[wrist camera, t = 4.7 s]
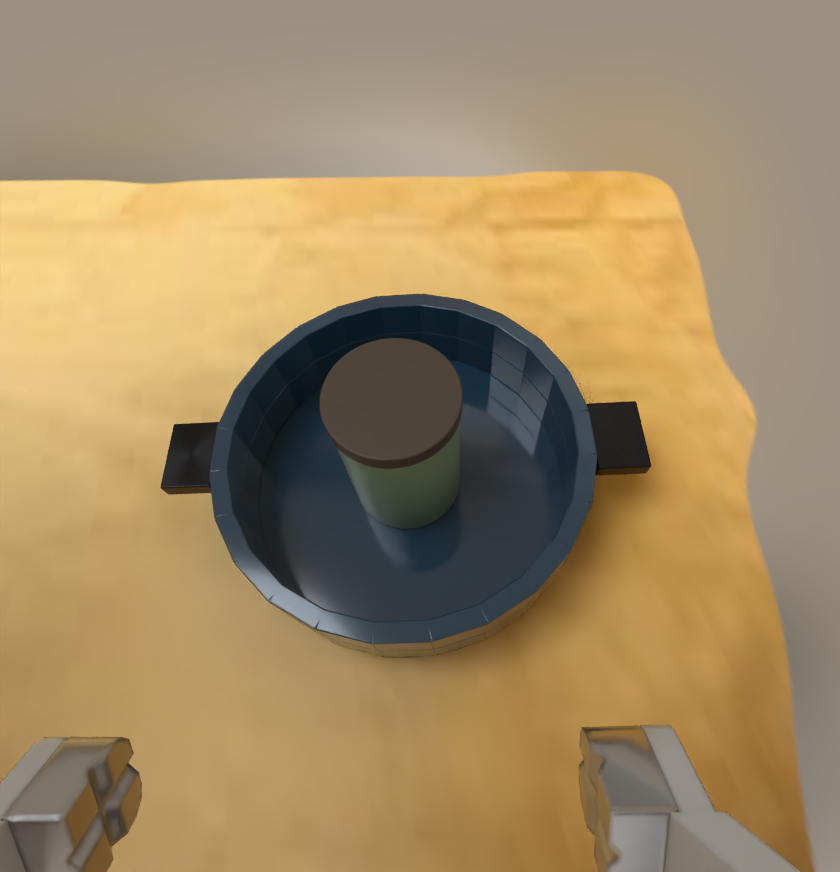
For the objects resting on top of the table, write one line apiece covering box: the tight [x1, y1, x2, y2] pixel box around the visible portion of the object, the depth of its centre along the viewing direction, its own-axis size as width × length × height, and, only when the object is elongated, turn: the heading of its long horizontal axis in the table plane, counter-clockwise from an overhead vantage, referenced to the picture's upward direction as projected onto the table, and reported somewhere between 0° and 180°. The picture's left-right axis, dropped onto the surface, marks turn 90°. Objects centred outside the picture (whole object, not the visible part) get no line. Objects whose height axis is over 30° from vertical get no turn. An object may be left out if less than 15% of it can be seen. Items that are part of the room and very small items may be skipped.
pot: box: [209, 294, 598, 657], centre depth 26 cm, size 17×17×4 cm
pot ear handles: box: [161, 401, 651, 494], centre depth 25 cm, size 21×3×1 cm, turn 91°
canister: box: [320, 338, 463, 529], centre depth 24 cm, size 5×5×8 cm
